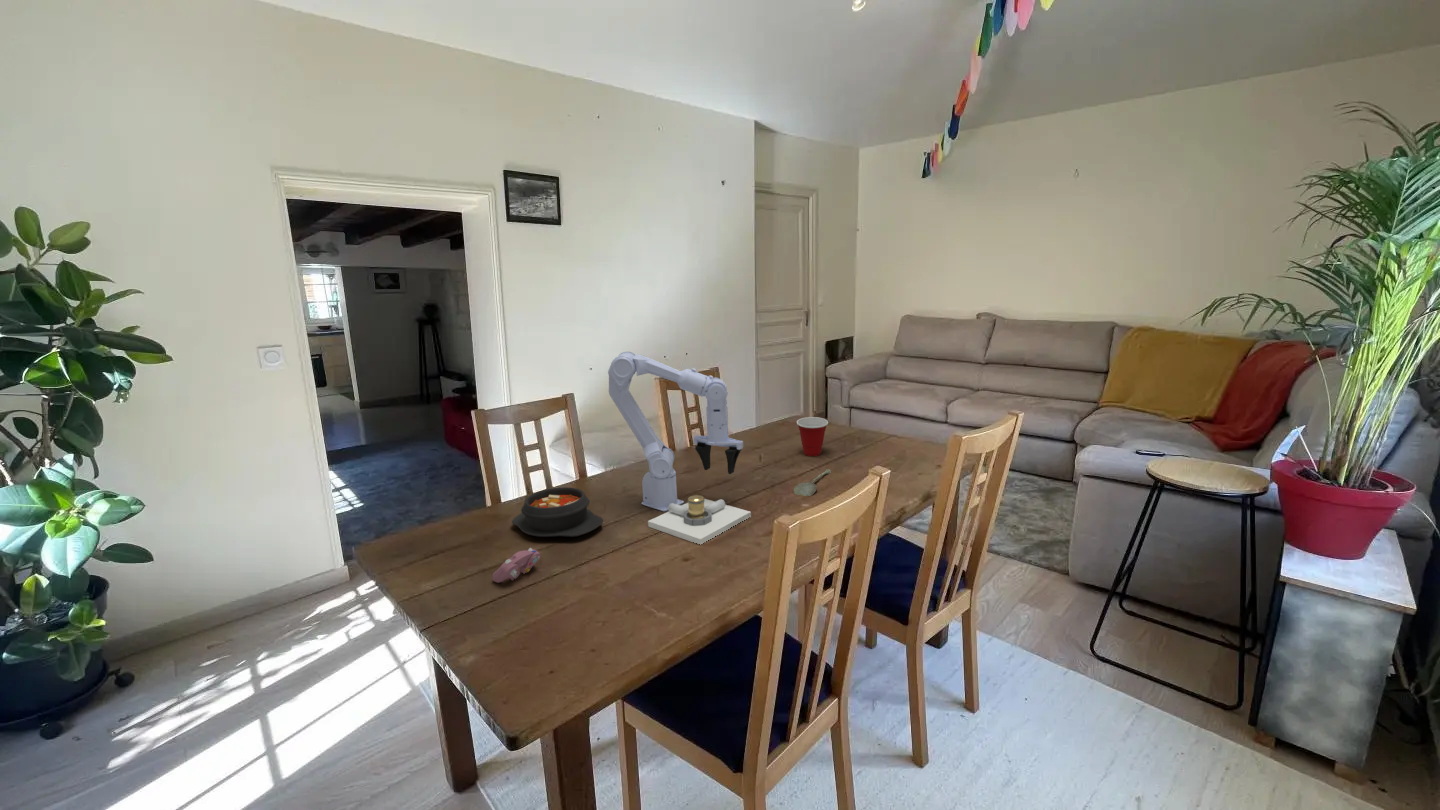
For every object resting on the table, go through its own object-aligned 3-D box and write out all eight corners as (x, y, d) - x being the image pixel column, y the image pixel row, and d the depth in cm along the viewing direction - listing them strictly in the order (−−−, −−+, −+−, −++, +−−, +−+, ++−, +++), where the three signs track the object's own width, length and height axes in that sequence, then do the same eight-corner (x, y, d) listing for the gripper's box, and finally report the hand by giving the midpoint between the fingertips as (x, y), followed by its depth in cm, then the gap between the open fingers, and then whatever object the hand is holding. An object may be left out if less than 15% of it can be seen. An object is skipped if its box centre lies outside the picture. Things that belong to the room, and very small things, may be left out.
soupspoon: (789, 497, 172) (810, 502, 168) (789, 486, 171) (810, 491, 167) (819, 472, 190) (838, 476, 186) (819, 462, 189) (839, 466, 185)
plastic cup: (796, 458, 203) (795, 424, 200) (797, 449, 213) (797, 416, 211) (828, 459, 201) (828, 424, 198) (827, 449, 211) (828, 417, 209)
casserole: (618, 521, 156) (616, 491, 154) (571, 551, 140) (568, 518, 138) (547, 507, 167) (544, 479, 166) (495, 533, 151) (491, 502, 149)
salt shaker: (685, 520, 151) (684, 498, 150) (697, 515, 154) (696, 493, 153) (696, 525, 148) (695, 502, 147) (708, 519, 151) (707, 497, 150)
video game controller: (503, 593, 125) (509, 569, 122) (489, 579, 127) (495, 556, 124) (539, 572, 134) (546, 550, 131) (526, 560, 135) (532, 537, 132)
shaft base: (648, 526, 152) (647, 512, 151) (699, 502, 167) (699, 489, 166) (700, 545, 141) (700, 529, 140) (751, 517, 156) (750, 503, 155)
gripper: (686, 424, 161) (689, 471, 164) (733, 429, 154) (735, 479, 157) (700, 418, 167) (702, 464, 170) (746, 423, 160) (747, 471, 163)
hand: (719, 470), depth 164 cm, fingers open, 7 cm apart
